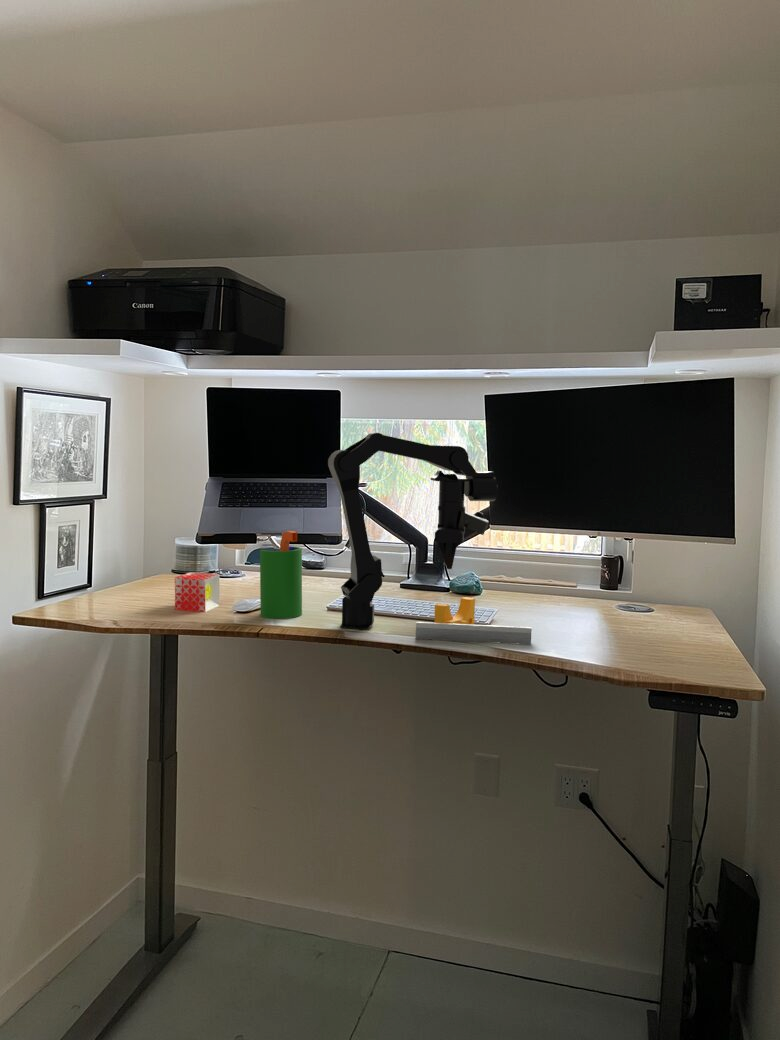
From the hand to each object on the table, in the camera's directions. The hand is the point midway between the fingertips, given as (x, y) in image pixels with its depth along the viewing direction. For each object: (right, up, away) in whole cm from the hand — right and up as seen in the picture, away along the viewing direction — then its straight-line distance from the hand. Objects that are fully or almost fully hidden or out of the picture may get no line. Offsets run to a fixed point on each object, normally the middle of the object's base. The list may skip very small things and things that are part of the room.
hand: (449, 568), depth 182 cm
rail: (+4, -14, -15) cm, 21 cm away
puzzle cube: (-61, -10, +11) cm, 62 cm away
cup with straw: (-39, -11, +6) cm, 41 cm away
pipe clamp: (+1, -14, -6) cm, 15 cm away
